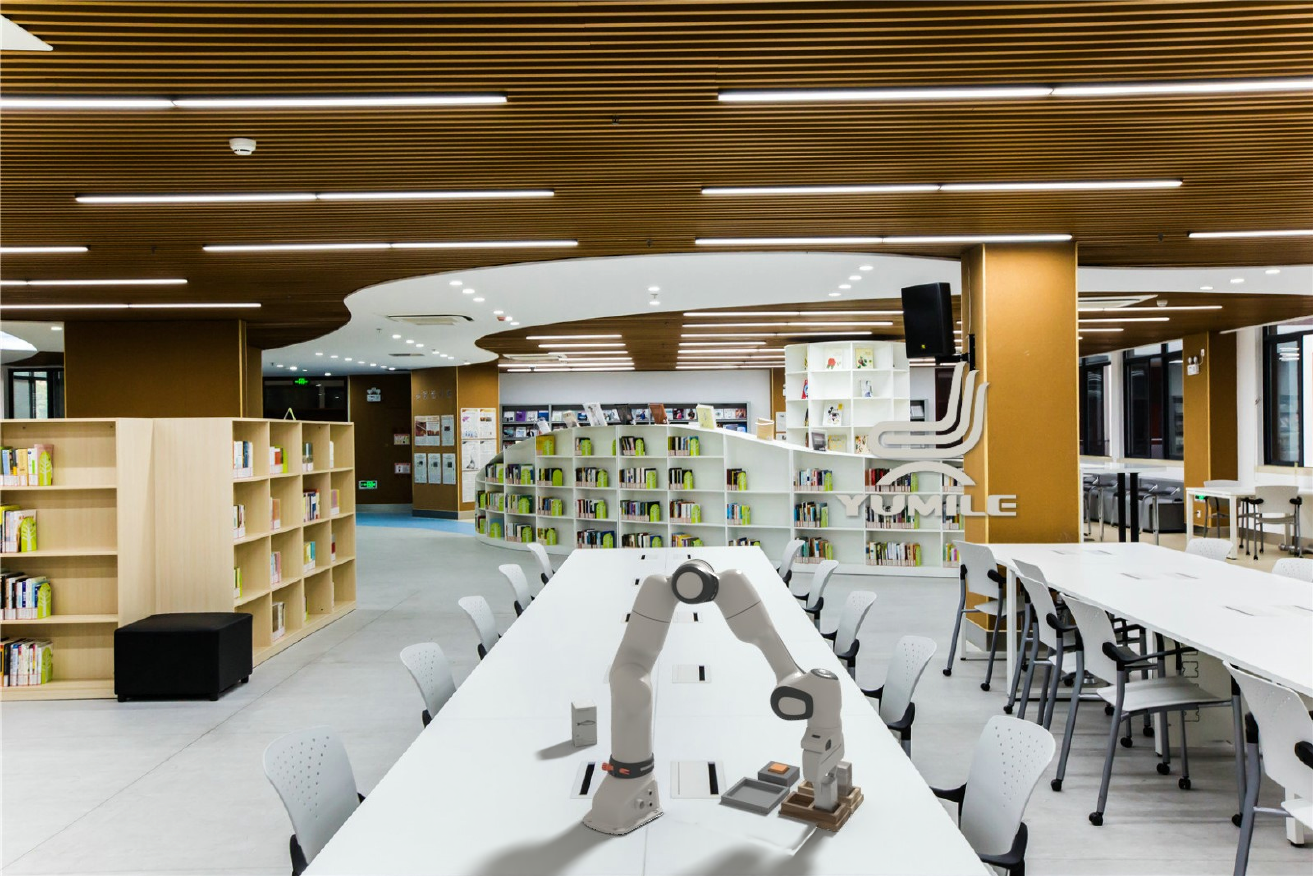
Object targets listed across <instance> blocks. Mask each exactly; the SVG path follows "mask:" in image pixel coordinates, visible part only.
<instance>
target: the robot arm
mask: <svg viewBox="0 0 1313 876" xmlns="http://www.w3.org/2000/svg"><path fill="white" fill-rule="evenodd" d="M636 595H637V596H636V597H635V600H634V603H633V605H632V608H631V611H630V615H629V618H628V622H627V625H626V627H625V631H624V634H623V638H622V639H621V642H620V644H619V647H618V649H617V651H616V654H615V656H614V659H613V662H612V665H611V667H610V671H609V673H608V681H609V687H610V688H609V689H610V702H611V703H610V708H611V709H610V744H611V745H610V749H611V750H610V751H611V754H610V756H609V759H608V762H605V761H604V762H603V763H602V764H601V770H602V771H606V772H607V773H606V775H605V776H604V778H603V780H602V782H600V785H599V787H598V788H597V790H596V791H595V793H594V795H593V796H592V802H591V809H590V810H589V811H588V812H587V813H585V815H584V816H583V817H582V823H583V822H584V823H583V824H584V825H585V824H586V825H587V826H586V825H585V826H586V827H588V826H589V827H588V828H590V829H592V828H593V829H592V830H595V829H596V830H595V831H598V832H601V833H605V834H609V833H611V834H610V835H618V834H622V835H625V834H624V833H627V832H629V831H631V830H632V829H635V828H636V827H638V826H640V825H641V824H644V823H646V822H648V821H649V820H651V819H654V818H655V817H656V816H658V815H661V814H662V813H663V814H664V809H663V808H662V807H661V804H660V794H659V787H658V786H659V785H658V781H657V779H656V776H655V772H654V769H655V755H654V753H653V738H652V737H653V736H652V735H653V733H652V731H653V730H652V725H653V724H652V723H653V722H652V721H653V707H654V706H653V702H654V701H653V700H654V696H653V695H654V686H653V683H652V680H651V676H652V672H653V669H654V666H655V665H656V662H657V659H658V657H659V655H660V653H661V652H662V650H663V648H664V646H665V642H666V639H667V635H668V633H669V632H668V631H669V628H670V625H671V622H672V619H673V616H674V612H675V610H676V607H677V606H678V604H679V603H680V602H681V603H684V604H686V605H699V604H703V603H710V602H714V603H715V605H716V606H717V607H718V609H719V611H720V613H721V614H722V615H721V616H723V619H724V621H725V622H726V624H727V626H728V628H729V629H730V631H731V633H733V635H734V636H735V638H737V639H738V640H739V641H741V642H742V643H745V644H751V645H752V646H753V645H754V646H755V647H757V648H758V649H759V650H760V651H761V653H762V655H763V656H764V658H765V660H766V661H767V663H768V665H769V666H770V669H771V670H772V671H773V673H774V675H775V678H776V685H775V687H774V689H773V690H772V692H771V695H770V698H769V704H770V707H771V710H772V712H773V713H774V715H776V717H778V718H780V719H781V720H784V721H789V722H790V721H791V722H792V721H795V722H796V721H804V720H806V722H807V723H806V726H807V727H806V729H805V732H804V734H803V736H802V738H801V740H800V748H801V749H803V751H802V754H801V755H802V756H801V761H802V763H801V765H802V766H801V767H802V775H803V779H804V780H806V781H808V782H812V785H813V787H814V794H816V795H820V794H821V793H822V786H821V783H820V782H821V779H822V778H823V777H824V776H825V775H826V776H830V777H834V778H836V771H837V767H838V762H839V761H842V759H844V756H845V740H844V739H845V738H844V733H843V721H842V717H841V711H842V706H843V703H842V701H843V698H842V697H843V696H842V695H843V694H842V687H841V683H840V682H841V681H840V679H839V677H838V676H837V674H835V672H832V671H831V670H827V669H824V668H812V669H810V670H809V671H807V672H806V671H804V669H802V667H800V666H799V665H798V664H797V663H796V662H795V660H794V658H793V656H792V655H791V652H789V650H788V649H787V647H786V644H784V641H783V640H782V638H781V637H780V635H779V634H778V631H777V630H776V627H775V625H774V624H773V622H772V619H771V617H770V615H769V613H768V610H767V608H766V606H765V604H764V602H763V600H762V598H761V597H760V595H759V593H758V591H757V590H756V588H755V587H754V586H753V584H752V582H751V581H750V579H749V578H748V577H747V576H746V574H745V573H744V572H743V571H742V570H740V569H736V568H731V569H725V570H724V571H721V572H715V570H714V567H712V565H711V564H710V563H709V562H707V561H706V560H703V559H699V558H695V559H690V560H687V561H685V562H683V563H682V564H680V565H679V566H678V567H677V568H676V570H674V572H673V573H672V574H671V575H664V574H658V573H655V574H654V573H653V574H651V575H649V576H647V577H645V579H644V581H643V583H642V584H641V586H640V588H639V590H638V593H637V594H636ZM661 816H662V815H661ZM654 820H655V819H654ZM648 823H649V822H648ZM646 824H647V823H646ZM644 825H645V824H644ZM640 827H641V826H640ZM638 828H639V827H638ZM635 830H636V829H635ZM631 832H632V831H631ZM613 833H614V834H613ZM629 833H630V832H629ZM627 834H628V833H627Z"/></svg>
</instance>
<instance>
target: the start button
mask: <svg viewBox="0 0 1313 876" xmlns="http://www.w3.org/2000/svg"><path fill="white" fill-rule="evenodd" d="M787 771H788V766H786V765H781V764H777V763H775V764H774V765H772V766H771V767H770V768H769V772H774V773H778V774H782V775H783V774H785V773H786V772H787Z"/></svg>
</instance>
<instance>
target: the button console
mask: <svg viewBox="0 0 1313 876" xmlns="http://www.w3.org/2000/svg"><path fill="white" fill-rule="evenodd" d="M775 763H777V764H781V765H786V766H788V771H787V772H786V773H785V774H783V775H782V774H778V773H774V772H769V768H770V767H771V766H772V765H774V764H775ZM800 769H801V768H800V766H796V765H791V764H786V763H783V762H777V761H772V760H770V761H769V762H768V763H766V765H764V766H763V767H762V768H760V769H759V770H758V771H757V780H760V781H765V782H769V783H773V784H777V785H781V786H785V787H790V788H791V787H792V785H794V784H795V783H796V782H797V781H798V780H799V779H800V778H801V775H800V771H801V770H800Z"/></svg>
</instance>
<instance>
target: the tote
mask: <svg viewBox="0 0 1313 876" xmlns="http://www.w3.org/2000/svg"><path fill="white" fill-rule="evenodd" d="M790 793H791V787H785V786H781V785H777V784H773V783H769V782H765V781H760V780H758V779H755V778H751V777H747V776H743V777H741V779H740V780H739V781H737V782H736V783H734V785H733V786H731V787H730V788H728V790H726V791H725V792H723V794H721V795H720V802H721V803H724V804H728V805H732V806H737V807H739V808H744V809H748V810H751V811H756V812H759V813H764V814H767V815H769V814H770V813H771V812H772V811H773V810H775V808H776V807H777V806H778V805H780V804H781V802H782V801H783V800H784V799H785V798H786V797H787V796H788V795H789V794H790Z"/></svg>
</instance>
